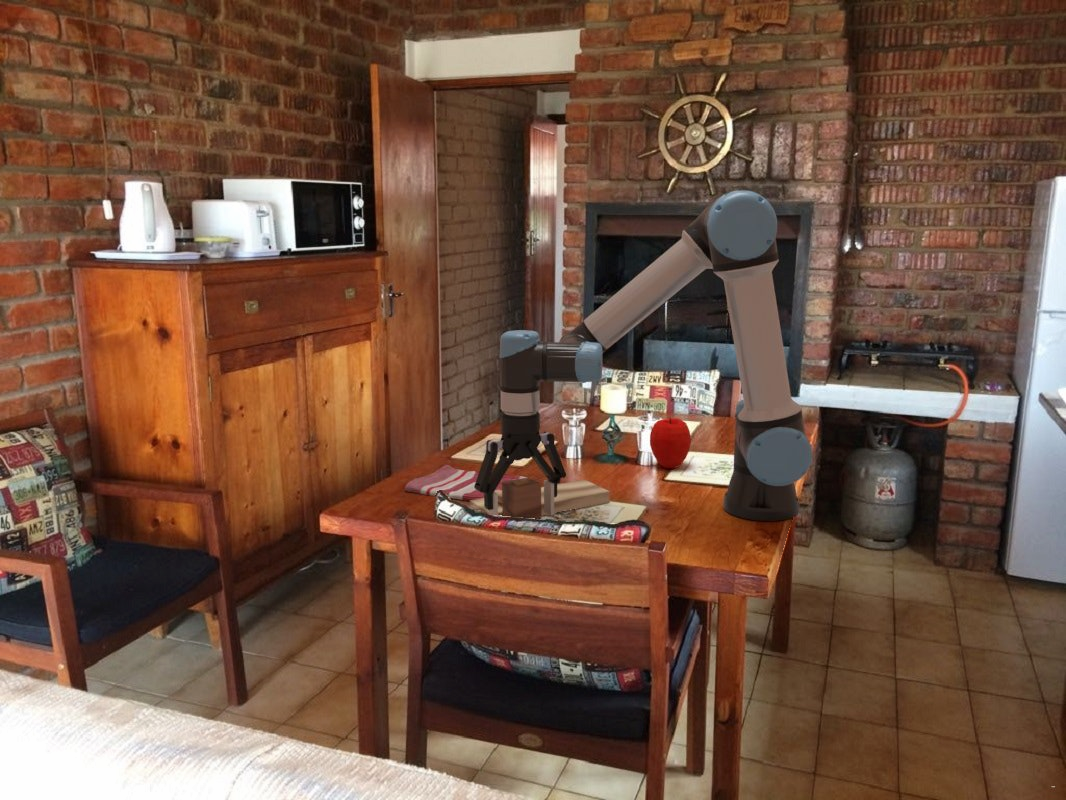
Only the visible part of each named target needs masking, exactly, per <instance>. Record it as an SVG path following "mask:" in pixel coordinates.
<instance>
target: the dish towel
mask: <svg viewBox="0 0 1066 800" xmlns="http://www.w3.org/2000/svg"><path fill="white" fill-rule="evenodd" d="M479 471H480V470H479ZM479 471H478V470H471V471H467V470H461V469H458V468H454V467H452V466H451V465H449V464H445V465H443V466H442V467H440V468H439V469H437V470H436V471H434V472H433V473H430V474H427V475H425V476H420V477H415V478H413V479H411V480H410V481H408V482H407V483H406V485H405V486H404V491H405V492H406V491H407V493H413V494H420V495H426V496H431V497H436V496H435V495H436V493H437V491H439V490H443V491H445V492H446V493H447V494H448V496H449V497H450V498H449V499H451V498H452V499H453V500H460V501H465V502H469V503H470V500H475V499H480V498H484V493H482V492H480V491H478V490H476V489H475V488H474V486H475V483H476V480H477V477H478V474H479ZM522 478H528V477H526V476H522V475H516V474H508V473H505V474H504V476H503V478H502V479H501V481H500V483H499V484H498V486H497V488H496V489H495V490H501V491H502V482H505V481H511V480H516V479H522ZM452 499H451V500H452Z"/></svg>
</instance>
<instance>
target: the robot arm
mask: <svg viewBox="0 0 1066 800" xmlns="http://www.w3.org/2000/svg"><path fill="white" fill-rule="evenodd" d="M777 233H778V218H777V215H776V212H775V210H774V207H773V206H772V205H771V203H770V201H768V199H766V198H765V197H764V196H762V195H761V194H759V193H757V192H755V191H752V190H746V189H741V190H734V191H729V192H726V193H723V194H720V195H718V196H717V197H715V198H714V199H713V200H711V202H710V203H709V204H708V205H707V206H706V207H705V208H704V210H703V211H702V212H701V213H700V214H699V215H698V216H697V218H695V220H693V221H692V222H691V223H690V224H689V225H688V226H686V228H684V229H683V230H682V234H681V238H680V239H679V240H678V241H677V242H676V243H674V244H673V245H672V246H671V247H669V248H668V249H667V250H666V251H665V252H664V253H663V254H660V256H659V257H658V258H656V259H655V260H654V261H653V262H652V263H651V264H649V266H647V267H646V268H645V269H643V270H642V271H641V272H640V273H639V274H637V275H636V276H635V277H634V278H633V279H632V280H630V281H629V282H628V283H626V284H625V285H624V286H623V287H622V288H621V289H620V290H618V291H617V292H616V293H615V294H613V296H611V297H610V298H609V299H607V301H606V302H604V303H603V304H602V305H600V306H599V307H598V308H597V309H596V310H594V311H593V312H592V313H591V314H590V315H589V316H587V317H585V319H584V320H583V321H582V322H581V323H579V324H577V326H575V327H574V328H573V329H571V331H568V332H566V333H565V334H564V335H563V336H562V337H561V338H560V339H559V342H556V341H555V342H554V341H553V342H552V341H550V342H549V341H541V339H540V334H539V332H537V331H535V330H528V329H527V330H526V329H523V330H522V329H519V330H516V329H515V330H508V331H506V332H504V333H502V335H501V336H500V339H499V341H500V343H499V344H500V345H499V356H498V359H499V377H500V378H499V380H500V381H499V384H500V385H499V386H500V410H501V411H502V412H501V414H500V431H501V438H500V440H491V439H488V440H486V444H485V445H486V448H485V455H484V457H483V460H482V462H481V465H480V469H479V474H478V477H477V480H476V483H475V486H474V488H475V489H476V490H478V491H480V492H482V493H484V506H485V508H486V509H488V513H489V514H493V515H498V494H497V493H495V492H494V491H495V489H496V488H497V486H498V484H499V483H500V481H501V479H502V478H503V476H504V474H507V473H506V472H507V471H508V469H509V467H510V466H511V465H512V464H514V462H515V461H521V460H522V459H524V460H525V459H526V460H528V459H532V460H533V461H534V462H535V464H536V465H537V467H538V468H539V469H540V470H541V472H542V473H543V474H544V476H545V477H546V478H547V480H546V479H545V480H543V487H544V512H546V513H548V514H549V515H548V516H554V515H555V514H554V497H557V484H561V480H562V479H564V478H566V477H567V472H566V470H565V467H564V465H563V463H562V460H561V458H560V455H559V452H558V450H557V448H556V447H557V446H556V445H555V435H554V433H551V432H548V431H543V433H540V431H541V430H540V429H541V414H540V412H539V411H540V408H541V401H540V399H541V397H540V396H541V395H540V388H541V387H540V382H544V383H546V382H547V383H548V382H553V383H554V382H560V383H561V382H562V383H582V384H586V383H591V382H592V383H594V382H599V381H601V379H602V377H603V354H604V353H605V352H606V351H607V350H608V349H609V348H611V347H612V346H613V345H614V344H615V343H617V342H618V341H619V340H620V339H621V338H623V337H624V336H625V335H626V334H628V333H629V332H630V331H631V330H632V329H633V328H635V327H636V326H637V325H639V324H640V323H641V322H643V321H644V320H645V319H646V318H647V317H649V316H650V315H651V314H652V313H653V312H654V311H656V310H657V309H658V308H660V307H661V306H662V305H663V304H665V303H666V302H667V301H668V300H669V299H671V298H672V297H673V296H674V295H676V294H677V293H678V292H679V291H680V290H682V289H683V288H684V287H685V286H687V285H688V284H689V283H691V282H692V281H693V280H694V279H696V277H698V276H699V275H700V274H701V273H702V272H704V271H705V270H707V269H708V270H709V269H710V270H711V269H712V270H713V274H715V275H716V276H717V277H719V278H720V279H722V281H723V284H724V290H725V296H726V302H727V308H728V315H729V321H730V327H731V332H732V334H731V335H732V340H733V344H734V352H735V357H736V364H737V369H738V375H739V376H738V377H739V381H740V387H741V392H742V393H741V394H742V398H743V399H741V400H739V401H738V402H737V403H736V406H735V413H734V417H735V418H734V420H735V421H734V422H735V424H734V446H733V470H732V471H733V472H732V475H731V476H730V480H729V483H728V486H727V490H726V492H725V493H724V496H723V509H724V510H725V511H726V512H727V513H728V514H730V515H732V516H734V517H735V516H736V517H737V518H741V519H744V520H752V521H760V522H777V521H785V520H790V519H792V518H795V517H796V516H798V514H799V513H800V499H799V497H798V496H797V490H796V486H795V483H796V482H797V481H799V480H801V479H803V477H804V476H805V475H806V474H807V472H808V471H809V469H810V467H811V465H812V461H813V447H812V444H811V442H810V440H809V438H808V437H807V435H806V429H805V422H804V416H803V415H804V414H803V409H802V405H800V404H799V403H798V402H796V401H795V400H793V399H792V394H791V387H790V381H789V375H788V368H787V362H786V356H785V349H784V342H783V337H782V329H781V324H780V323H781V322H780V316H779V311H778V304H777V303H778V302H777V298H776V297H777V296H776V292H775V284H774V278H773V273H772V272H773V270H774V268H775V267H776V266H777V264H778V263H779V261H780V259H779V253H778V247H777V239H776V236H777ZM540 444H542V445H543V447H544V450H545V452H546V455H547V457H548V460H549V462H550V464H551V466H550V465H549V463H548V462H547V461H546V459H545V458H544V457H543V454H542V453H541V451H540V450H539V449H538V447H539V446H540ZM501 448H502V451H501V453H500V455H499V460H498V461H496V460H497V458H498V453H499V452H500V450H501ZM496 462H497V463H496ZM495 463H496V464H495Z"/></svg>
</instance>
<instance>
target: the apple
mask: <svg viewBox="0 0 1066 800" xmlns="http://www.w3.org/2000/svg"><path fill="white" fill-rule="evenodd" d="M691 443H692V436H691V431H690V429H689V426H688V424H687V422H686V421H684V420H682V419H681V418H678V417H677V418H676V417H675V418H671V417H669V418H665V419H664V418H663V419H660V420H657V421H656V422H655V423H654V424H653V426H652V428H651V430H650V434H649V446H650V450H651V452H652V455H653V457H654V458H655V460H656V461H657V463H658V464H659V465H660V466H662V467H664V468H665V469H675V468H678V467H680V466H681V465H682V464H683V463H684V462H685V460H686V459H687V456H688V454H689V452H690V448H691Z"/></svg>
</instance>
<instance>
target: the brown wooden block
mask: <svg viewBox="0 0 1066 800" xmlns="http://www.w3.org/2000/svg"><path fill="white" fill-rule="evenodd" d="M541 487H542V483H541V482H539V481H537V480H534V479H533V478H531V477H527V478H522V479H516V480H511V481H505V482H502V491H501V490H495V491H494V492H495V493H497V494H498V501H499V502H501V503H502V516H511V517H523V518H535V519H541V520H542V516H541Z"/></svg>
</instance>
